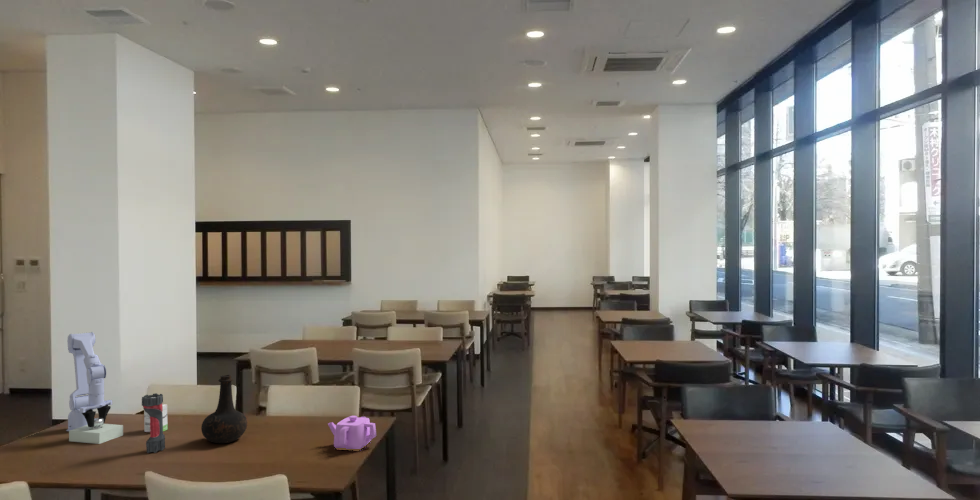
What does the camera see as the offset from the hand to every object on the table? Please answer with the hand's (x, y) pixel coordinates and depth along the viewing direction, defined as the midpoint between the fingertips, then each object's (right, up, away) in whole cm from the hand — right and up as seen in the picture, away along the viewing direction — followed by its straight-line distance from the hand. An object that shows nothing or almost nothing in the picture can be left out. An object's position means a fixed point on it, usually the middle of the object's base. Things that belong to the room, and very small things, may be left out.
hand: (96, 425), depth 260 cm
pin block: (0, -6, 0) cm, 6 cm away
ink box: (+20, -6, +11) cm, 23 cm away
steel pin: (0, -4, 0) cm, 4 cm away
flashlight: (+35, -6, -18) cm, 40 cm away
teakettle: (+114, -6, -11) cm, 115 cm away
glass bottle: (+58, -6, -4) cm, 58 cm away
